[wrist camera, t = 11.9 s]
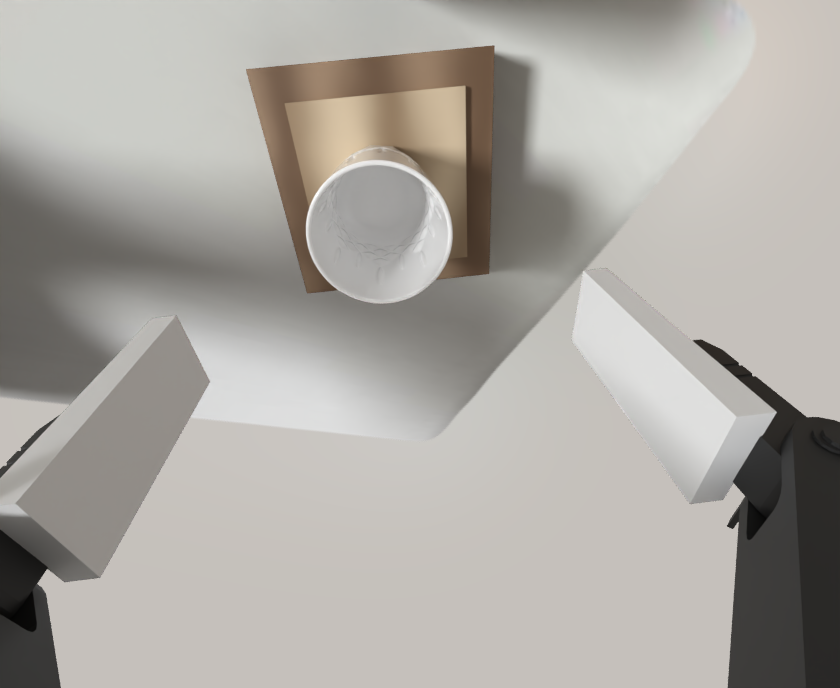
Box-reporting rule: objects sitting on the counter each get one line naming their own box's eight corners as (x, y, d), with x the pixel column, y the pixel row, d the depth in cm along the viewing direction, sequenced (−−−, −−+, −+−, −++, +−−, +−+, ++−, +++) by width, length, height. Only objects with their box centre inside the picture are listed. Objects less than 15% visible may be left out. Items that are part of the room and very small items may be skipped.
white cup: (439, 235, 31) (459, 291, 23) (343, 252, 32) (330, 314, 23) (425, 125, 27) (443, 146, 19) (313, 146, 27) (283, 176, 19)
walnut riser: (313, 274, 37) (306, 296, 34) (261, 70, 28) (243, 69, 24) (479, 256, 38) (490, 276, 34) (481, 49, 28) (496, 45, 25)
